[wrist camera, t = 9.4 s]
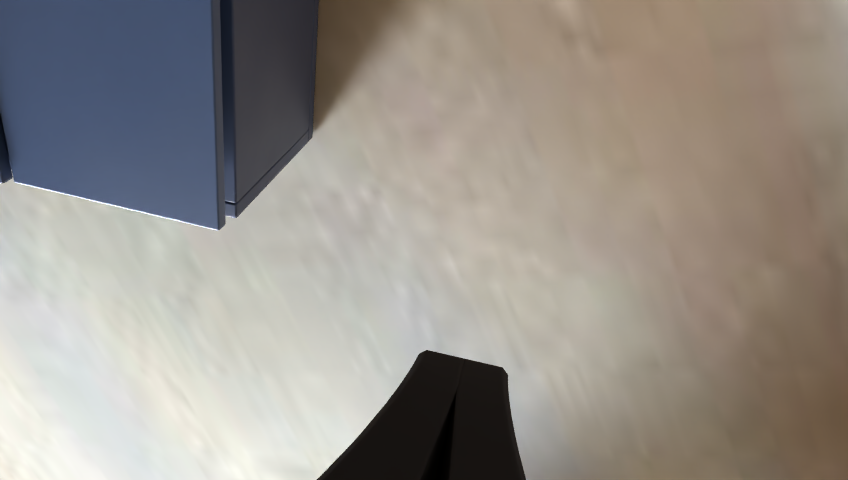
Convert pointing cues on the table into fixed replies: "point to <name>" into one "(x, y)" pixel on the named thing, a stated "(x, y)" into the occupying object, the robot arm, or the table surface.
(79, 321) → the table surface
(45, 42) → the flap
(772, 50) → the table surface
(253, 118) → the carton
